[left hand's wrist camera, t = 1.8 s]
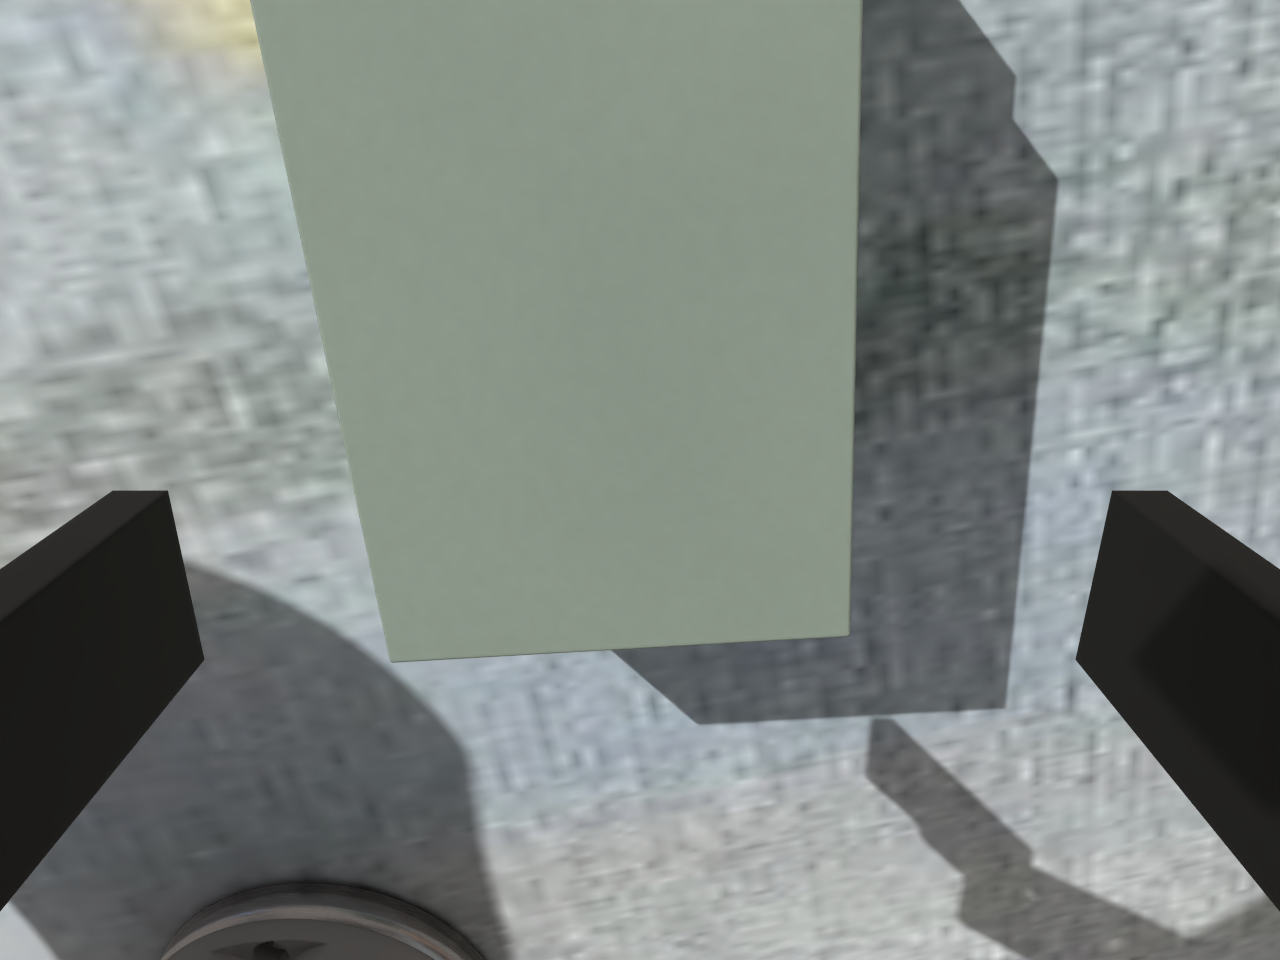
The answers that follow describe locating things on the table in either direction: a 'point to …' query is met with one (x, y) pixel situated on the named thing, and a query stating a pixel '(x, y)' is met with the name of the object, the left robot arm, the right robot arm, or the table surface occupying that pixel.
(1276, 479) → the table surface
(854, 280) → the grey box
